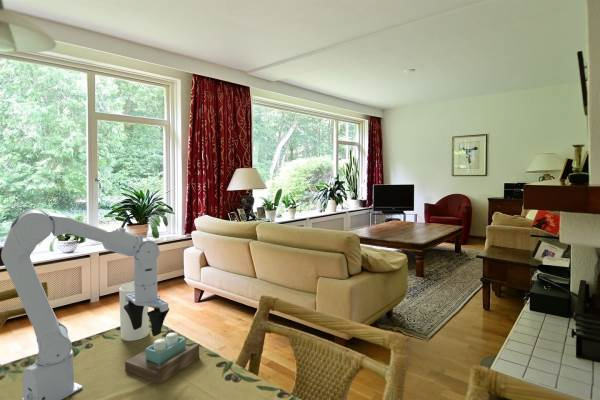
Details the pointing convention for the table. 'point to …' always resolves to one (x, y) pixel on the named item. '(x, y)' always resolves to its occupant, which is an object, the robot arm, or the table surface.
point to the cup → (125, 321)
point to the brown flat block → (166, 369)
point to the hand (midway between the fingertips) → (146, 331)
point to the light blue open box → (165, 349)
